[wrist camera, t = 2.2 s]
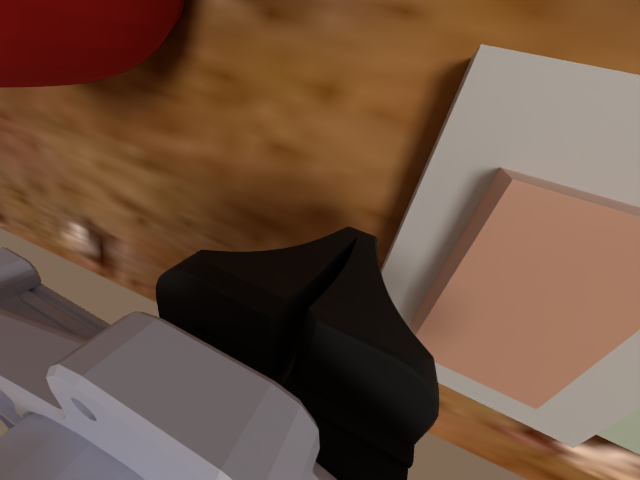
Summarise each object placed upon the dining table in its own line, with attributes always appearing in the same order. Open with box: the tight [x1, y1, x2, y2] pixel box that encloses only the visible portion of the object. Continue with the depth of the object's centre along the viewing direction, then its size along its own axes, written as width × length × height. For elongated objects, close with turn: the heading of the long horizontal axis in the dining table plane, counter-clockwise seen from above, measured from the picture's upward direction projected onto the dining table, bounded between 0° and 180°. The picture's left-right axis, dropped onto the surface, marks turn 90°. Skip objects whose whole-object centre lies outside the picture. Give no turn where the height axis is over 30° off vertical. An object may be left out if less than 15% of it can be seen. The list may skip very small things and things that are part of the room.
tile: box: [410, 167, 640, 410], centre depth 11 cm, size 6×9×2 cm, turn 167°
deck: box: [381, 44, 640, 448], centre depth 13 cm, size 13×16×3 cm
